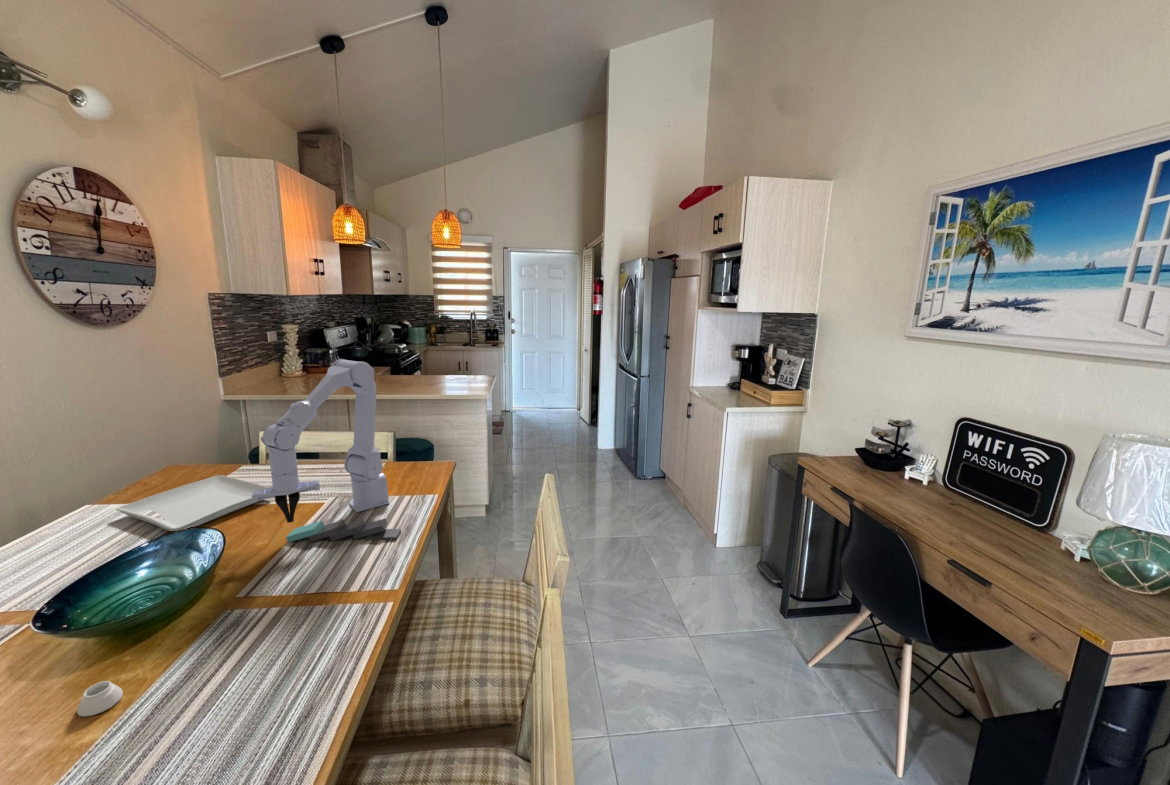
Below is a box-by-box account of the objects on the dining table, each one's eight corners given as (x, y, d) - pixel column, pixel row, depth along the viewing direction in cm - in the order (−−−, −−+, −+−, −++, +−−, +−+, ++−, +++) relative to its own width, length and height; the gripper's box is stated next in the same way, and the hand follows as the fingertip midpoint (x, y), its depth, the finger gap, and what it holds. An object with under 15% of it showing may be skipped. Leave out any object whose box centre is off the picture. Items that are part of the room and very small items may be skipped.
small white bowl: (131, 689, 77) (94, 694, 76) (127, 673, 77) (90, 678, 76) (108, 715, 73) (68, 721, 71) (104, 699, 72) (64, 704, 71)
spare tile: (297, 533, 126) (324, 525, 126) (288, 542, 121) (316, 534, 122) (294, 528, 125) (322, 520, 126) (285, 537, 121) (314, 528, 121)
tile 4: (318, 533, 126) (345, 524, 126) (311, 542, 122) (339, 532, 122) (315, 528, 126) (343, 519, 126) (308, 537, 121) (336, 527, 122)
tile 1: (372, 534, 128) (401, 534, 128) (366, 543, 123) (396, 542, 124) (372, 529, 127) (400, 528, 128) (366, 537, 123) (395, 537, 124)
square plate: (116, 520, 132) (113, 507, 131) (221, 484, 156) (220, 473, 156) (175, 541, 122) (172, 527, 121) (278, 499, 146) (276, 487, 146)
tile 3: (338, 533, 127) (365, 523, 127) (331, 541, 122) (359, 531, 123) (335, 527, 126) (363, 518, 127) (329, 536, 122) (357, 526, 122)
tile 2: (358, 531, 128) (387, 523, 129) (354, 539, 123) (384, 530, 125) (357, 526, 127) (385, 518, 128) (352, 533, 123) (382, 525, 124)
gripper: (316, 461, 127) (320, 508, 130) (250, 471, 119) (256, 521, 122) (318, 469, 121) (323, 518, 124) (249, 481, 113) (256, 532, 116)
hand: (290, 520), depth 123 cm, fingers closed
